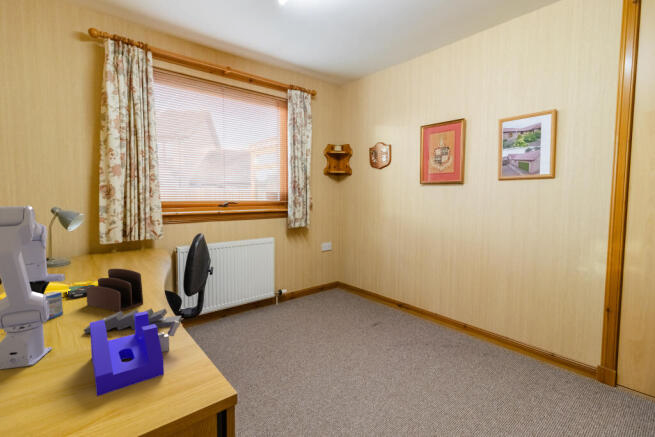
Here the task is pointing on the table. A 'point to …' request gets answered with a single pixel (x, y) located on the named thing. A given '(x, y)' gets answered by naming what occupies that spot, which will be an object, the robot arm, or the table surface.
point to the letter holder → (117, 291)
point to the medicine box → (54, 304)
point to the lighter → (167, 336)
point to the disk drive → (78, 291)
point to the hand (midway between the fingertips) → (37, 304)
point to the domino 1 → (107, 320)
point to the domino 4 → (154, 317)
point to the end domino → (166, 321)
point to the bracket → (125, 355)
